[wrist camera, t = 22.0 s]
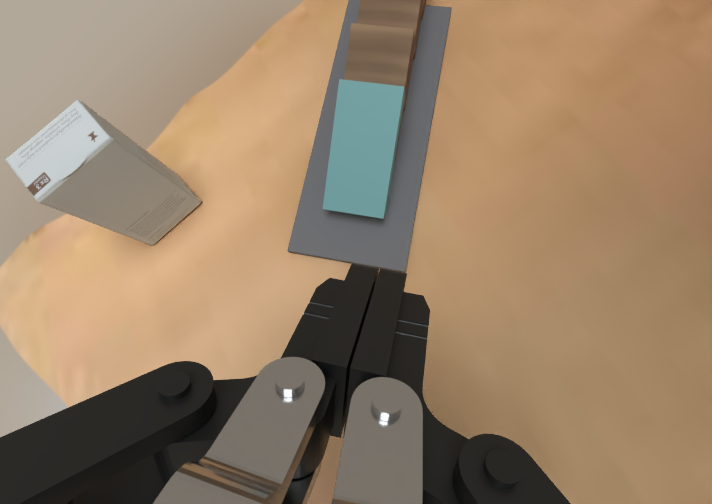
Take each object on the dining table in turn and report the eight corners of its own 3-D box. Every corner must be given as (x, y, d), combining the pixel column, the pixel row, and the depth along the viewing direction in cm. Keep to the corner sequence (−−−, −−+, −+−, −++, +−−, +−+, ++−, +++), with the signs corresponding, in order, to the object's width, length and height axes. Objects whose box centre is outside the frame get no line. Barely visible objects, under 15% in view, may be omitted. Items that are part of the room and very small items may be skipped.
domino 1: (403, 106, 34) (424, -24, 32) (346, 99, 35) (363, -28, 33) (404, 110, 36) (424, -11, 34) (350, 103, 37) (366, -16, 35)
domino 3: (383, 218, 32) (404, 86, 30) (322, 208, 32) (339, 79, 31) (385, 216, 34) (405, 92, 32) (328, 207, 34) (344, 85, 32)
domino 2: (393, 159, 33) (414, 28, 31) (334, 151, 33) (351, 22, 32) (395, 161, 35) (414, 38, 33) (339, 153, 35) (355, 32, 34)
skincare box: (177, 173, 37) (76, 90, 25) (205, 204, 36) (115, 134, 24) (125, 217, 36) (-3, 154, 25) (153, 251, 35) (33, 202, 24)
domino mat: (405, 272, 33) (405, 271, 32) (289, 252, 34) (287, 250, 34) (450, 11, 38) (451, 7, 38) (349, 2, 40) (349, -2, 39)
